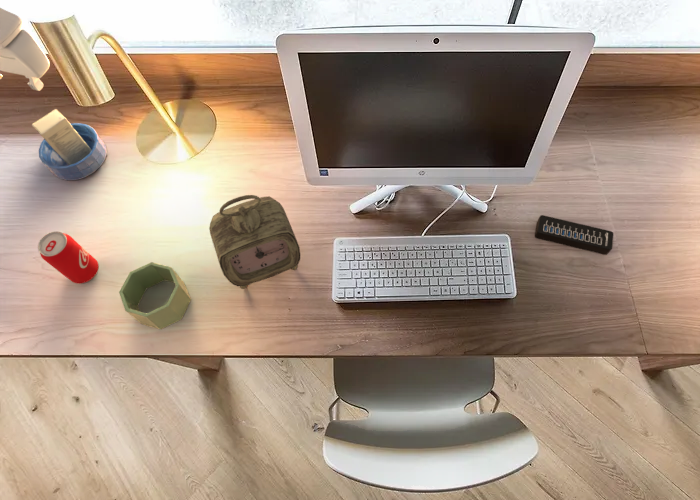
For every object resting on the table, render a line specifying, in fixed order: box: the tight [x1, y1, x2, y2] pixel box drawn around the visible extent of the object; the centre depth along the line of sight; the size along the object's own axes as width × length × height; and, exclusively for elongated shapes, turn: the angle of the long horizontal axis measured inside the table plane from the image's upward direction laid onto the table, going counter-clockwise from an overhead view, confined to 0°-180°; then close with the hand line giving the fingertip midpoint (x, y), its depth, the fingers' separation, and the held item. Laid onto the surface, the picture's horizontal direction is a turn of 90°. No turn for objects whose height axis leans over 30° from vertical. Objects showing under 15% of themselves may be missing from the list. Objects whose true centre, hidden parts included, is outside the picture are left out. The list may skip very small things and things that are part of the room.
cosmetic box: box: [31, 108, 91, 165], centre depth 111 cm, size 6×4×12 cm
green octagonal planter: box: [118, 261, 192, 330], centre depth 95 cm, size 10×10×7 cm
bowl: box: [38, 122, 108, 181], centre depth 114 cm, size 13×13×5 cm
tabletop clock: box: [208, 194, 301, 290], centre depth 90 cm, size 14×9×25 cm, turn 112°
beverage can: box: [37, 231, 100, 285], centre depth 97 cm, size 6×6×12 cm
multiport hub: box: [534, 214, 614, 256], centre depth 100 cm, size 4×14×2 cm, turn 72°
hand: (17, 83), depth 96 cm, fingers open, 8 cm apart
